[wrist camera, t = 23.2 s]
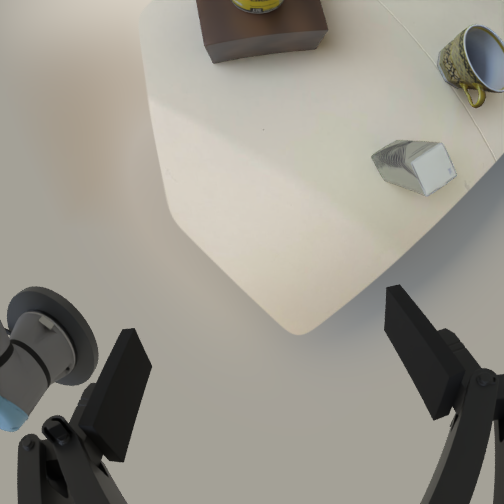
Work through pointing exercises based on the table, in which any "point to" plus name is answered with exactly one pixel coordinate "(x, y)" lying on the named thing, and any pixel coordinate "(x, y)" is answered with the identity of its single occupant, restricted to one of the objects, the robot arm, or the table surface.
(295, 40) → the wooden block
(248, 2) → the pill bottle
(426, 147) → the box
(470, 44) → the ceramic cup
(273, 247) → the table surface
